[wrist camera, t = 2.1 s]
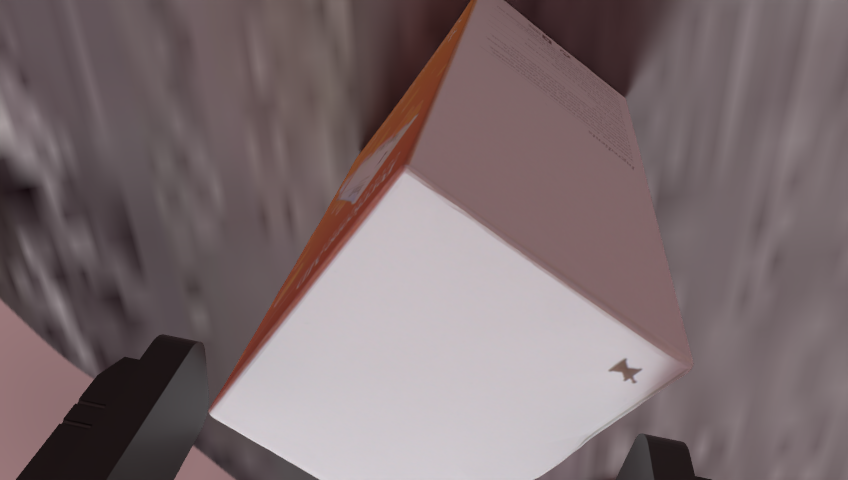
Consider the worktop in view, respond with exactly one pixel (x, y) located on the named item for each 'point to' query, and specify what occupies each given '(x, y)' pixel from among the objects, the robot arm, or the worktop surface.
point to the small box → (471, 279)
